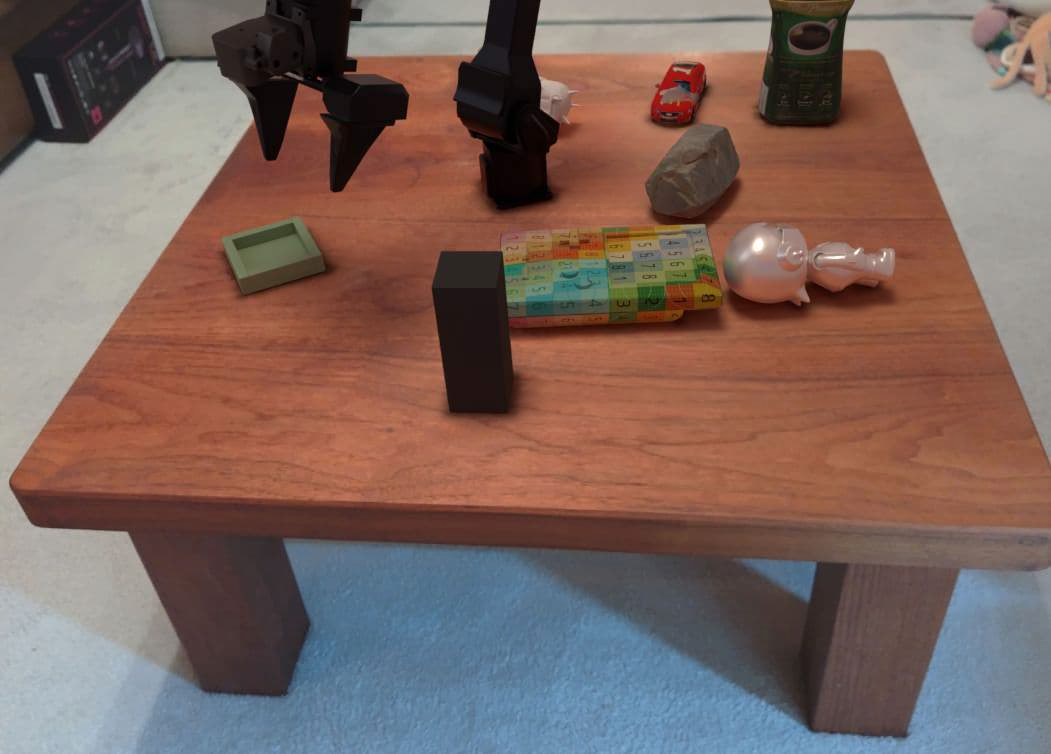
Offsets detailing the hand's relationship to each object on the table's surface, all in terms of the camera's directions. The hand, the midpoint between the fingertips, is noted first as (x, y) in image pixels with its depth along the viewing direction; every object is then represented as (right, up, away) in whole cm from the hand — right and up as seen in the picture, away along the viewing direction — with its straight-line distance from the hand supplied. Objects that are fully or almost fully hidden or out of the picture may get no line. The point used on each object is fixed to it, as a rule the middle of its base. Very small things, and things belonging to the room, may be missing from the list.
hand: (302, 175), depth 88 cm
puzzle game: (+27, -10, +8) cm, 30 cm away
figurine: (+46, -10, +6) cm, 47 cm away
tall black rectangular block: (+16, -19, -1) cm, 25 cm away
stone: (+38, +2, +21) cm, 43 cm away
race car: (+39, +16, +38) cm, 56 cm away
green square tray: (-6, -6, +16) cm, 18 cm away
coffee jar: (+53, +14, +34) cm, 64 cm away
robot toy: (+20, +13, +36) cm, 43 cm away
